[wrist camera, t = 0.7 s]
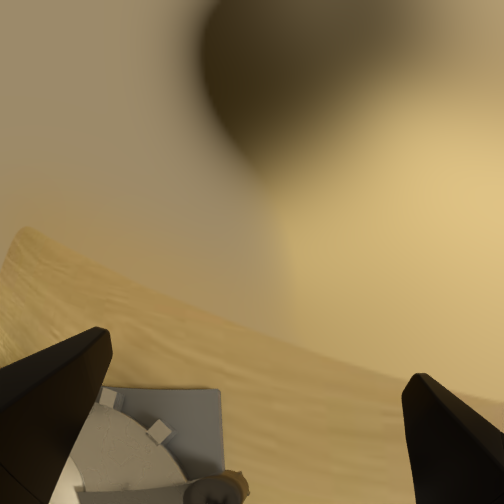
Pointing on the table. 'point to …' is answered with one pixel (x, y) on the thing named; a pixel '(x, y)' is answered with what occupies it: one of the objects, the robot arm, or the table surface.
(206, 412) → the sprocket base
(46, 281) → the table surface
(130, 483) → the sprocket
